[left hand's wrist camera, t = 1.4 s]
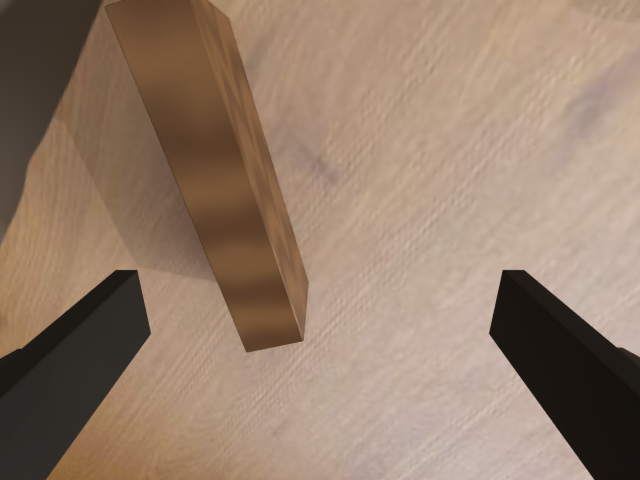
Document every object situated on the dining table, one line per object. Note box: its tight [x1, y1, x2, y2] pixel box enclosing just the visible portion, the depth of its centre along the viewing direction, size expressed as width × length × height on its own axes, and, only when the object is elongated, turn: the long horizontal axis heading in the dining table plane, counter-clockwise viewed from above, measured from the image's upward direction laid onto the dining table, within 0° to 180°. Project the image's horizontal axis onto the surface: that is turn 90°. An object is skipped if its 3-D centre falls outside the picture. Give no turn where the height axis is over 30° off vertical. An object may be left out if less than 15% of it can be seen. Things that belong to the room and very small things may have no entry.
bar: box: [105, 0, 309, 352], centre depth 27 cm, size 24×5×9 cm, turn 14°
